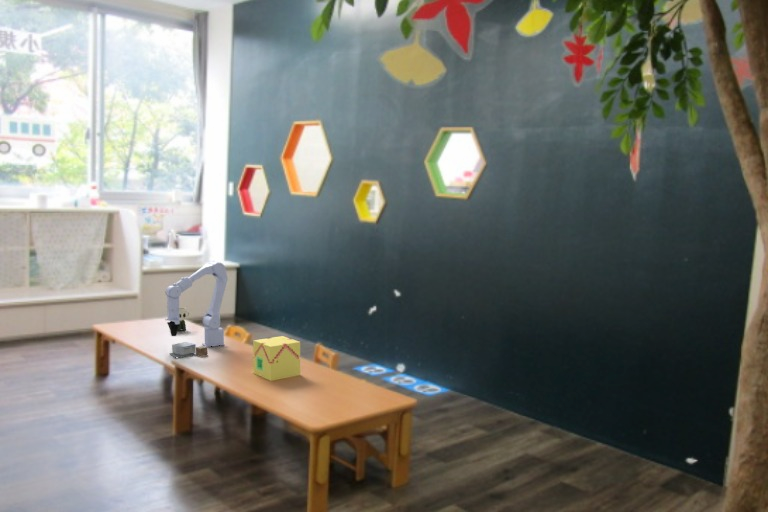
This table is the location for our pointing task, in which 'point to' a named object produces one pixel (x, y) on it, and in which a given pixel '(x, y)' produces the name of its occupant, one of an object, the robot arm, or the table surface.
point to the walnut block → (201, 350)
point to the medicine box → (184, 348)
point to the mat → (180, 355)
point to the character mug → (182, 318)
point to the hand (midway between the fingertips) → (173, 335)
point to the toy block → (276, 358)
